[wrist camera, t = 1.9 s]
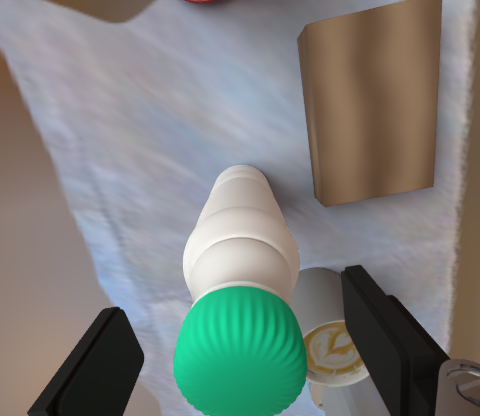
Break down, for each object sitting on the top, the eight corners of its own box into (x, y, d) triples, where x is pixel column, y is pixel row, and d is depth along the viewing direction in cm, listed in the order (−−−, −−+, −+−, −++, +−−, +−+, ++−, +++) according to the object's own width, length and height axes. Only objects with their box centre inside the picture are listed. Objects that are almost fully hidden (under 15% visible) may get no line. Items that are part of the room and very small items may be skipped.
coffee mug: (342, 260, 35) (379, 311, 25) (350, 315, 38) (387, 378, 28) (251, 281, 36) (254, 336, 26) (266, 332, 39) (274, 398, 29)
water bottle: (268, 215, 33) (339, 454, 9) (216, 217, 33) (147, 456, 9) (269, 162, 30) (365, 292, 7) (212, 164, 30) (109, 298, 7)
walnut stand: (412, 11, 25) (442, -9, 21) (409, 179, 31) (433, 186, 27) (297, 39, 26) (306, 24, 22) (314, 197, 32) (324, 207, 28)
